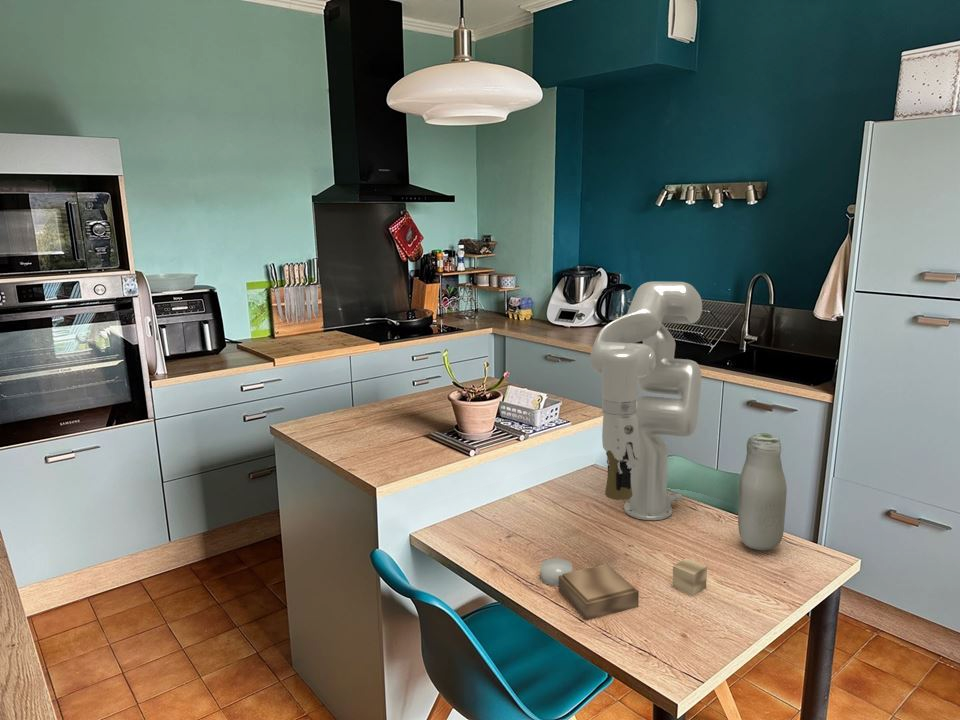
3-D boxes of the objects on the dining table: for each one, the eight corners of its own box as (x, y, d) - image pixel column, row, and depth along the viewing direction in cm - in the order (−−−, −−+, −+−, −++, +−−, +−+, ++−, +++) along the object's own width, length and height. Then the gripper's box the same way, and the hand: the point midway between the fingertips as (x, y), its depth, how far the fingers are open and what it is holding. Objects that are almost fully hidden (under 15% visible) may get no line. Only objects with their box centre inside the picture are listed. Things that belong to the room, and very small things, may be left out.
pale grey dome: (563, 567, 157) (563, 555, 156) (578, 582, 150) (578, 570, 150) (535, 574, 154) (535, 562, 154) (549, 589, 148) (549, 576, 147)
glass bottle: (766, 535, 168) (772, 426, 163) (790, 555, 159) (798, 439, 153) (728, 539, 167) (733, 429, 161) (750, 559, 157) (756, 443, 151)
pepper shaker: (624, 502, 149) (625, 454, 147) (600, 495, 153) (600, 448, 151) (637, 493, 154) (637, 446, 152) (613, 487, 158) (613, 441, 155)
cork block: (685, 579, 150) (686, 558, 149) (706, 587, 146) (706, 566, 145) (672, 587, 147) (672, 566, 146) (693, 596, 143) (693, 574, 142)
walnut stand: (607, 578, 151) (607, 561, 150) (638, 606, 140) (638, 588, 139) (558, 590, 147) (558, 573, 146) (586, 620, 136) (586, 601, 135)
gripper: (653, 414, 142) (651, 497, 146) (619, 395, 158) (618, 470, 162) (619, 418, 140) (619, 502, 144) (588, 398, 156) (588, 474, 160)
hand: (618, 484), depth 153 cm, fingers closed on pepper shaker, 3 cm apart
